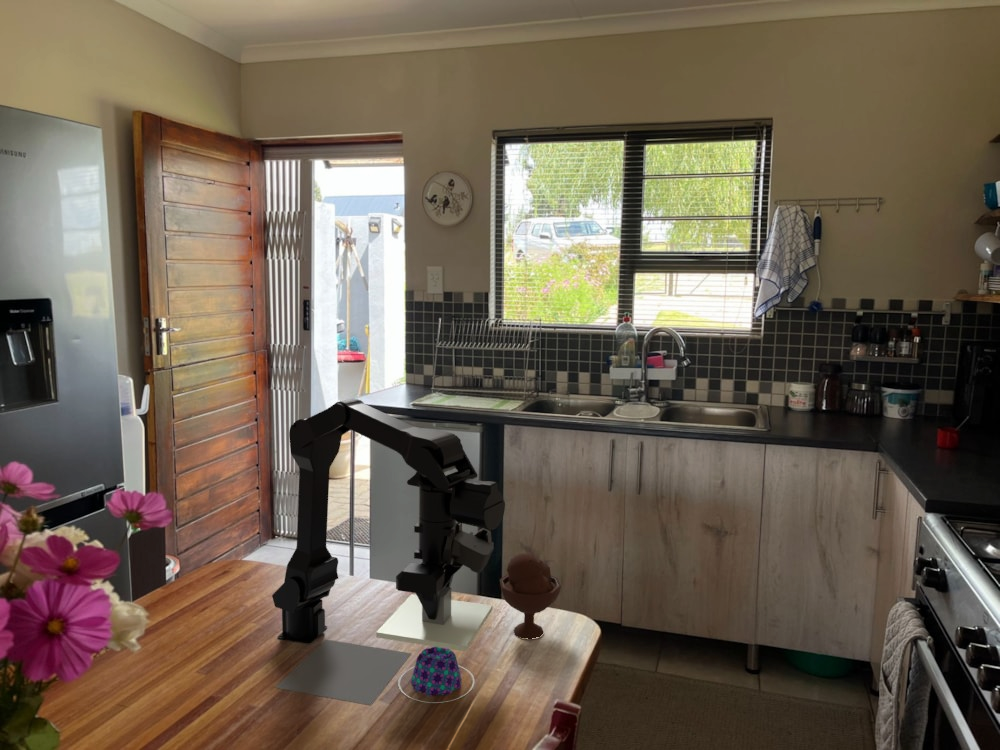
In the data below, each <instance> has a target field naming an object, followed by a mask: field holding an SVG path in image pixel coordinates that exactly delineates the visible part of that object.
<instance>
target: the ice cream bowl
mask: <svg viewBox="0 0 1000 750" xmlns="http://www.w3.org/2000/svg"><path fill="white" fill-rule="evenodd" d="M506 567H507V568H506V572H507V574H505V575H504V576H502V577H501V578H500V579H499V583H500V584H499V585H500V589H501V592H502V596H503V597H504V598H503V599H504V600H505V602H506V603H507V604H508V605H509V606H510V607H512V608H513V609H515V610H516V611H519V612H521V613H522V614H524V616H523V617H524V619H523V622H521V623H519V624H517V625H516V626H515V627H514V628H513V634H514V633H515V634H514V636H515V635H516V637H517V636H518V637H517V638H519V637H521V638H528V639H532V638H536V637H540V636H541V635H542V634H543V633H544V630H543V627H542V626H540V625H538V624H537V623H535V615H536V614H537V613H541V612H543V611H545V610H546V609H547V608H549V607H550V606H551V605H552V604H553V603H554V602H555V601H556V600H557V599H558V597H559V595H560V592H561V589H562V584H561V582H560V580H559V578H558V577H556V576H554V575H552V574H551V573H552V572H551V567H550V566H549V565H548V563H546V562H544V561H543V559H539V558H538V557H536V556H535V555H534V554H532V553H524V552H522V553H519V554H516V555H514V556H513V557H512V558H510V560H509V562H508V564H507V566H506ZM544 634H545V633H544ZM521 638H520V639H521Z"/></svg>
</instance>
